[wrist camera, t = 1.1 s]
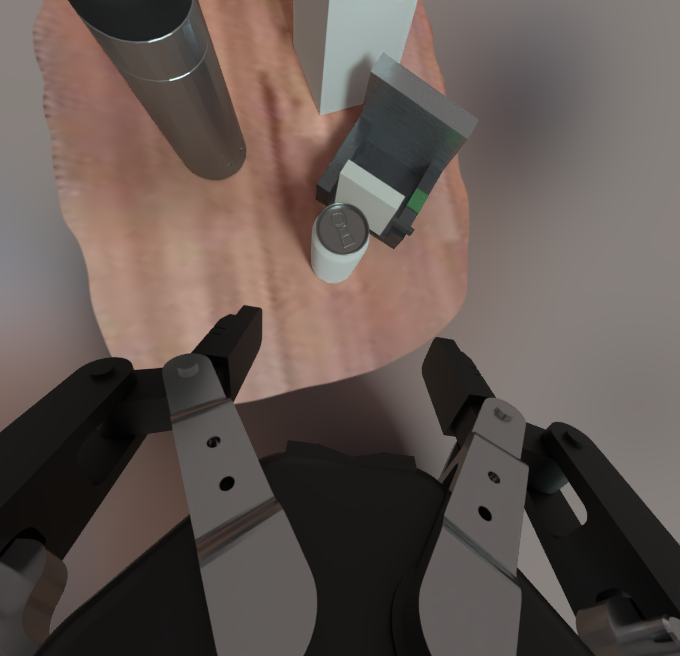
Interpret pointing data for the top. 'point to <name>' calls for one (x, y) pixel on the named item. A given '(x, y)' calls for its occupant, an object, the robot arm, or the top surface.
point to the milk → (347, 45)
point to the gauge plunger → (370, 198)
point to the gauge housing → (400, 140)
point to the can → (338, 241)
